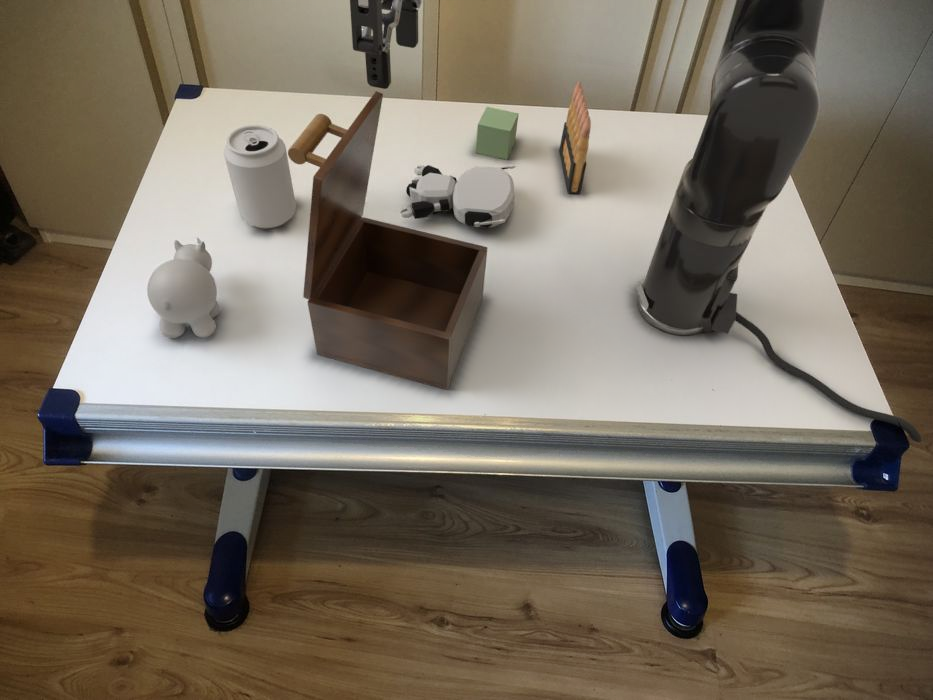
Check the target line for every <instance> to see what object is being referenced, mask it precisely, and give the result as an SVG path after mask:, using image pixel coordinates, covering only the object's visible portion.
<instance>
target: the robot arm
mask: <svg viewBox="0 0 933 700" xmlns="http://www.w3.org/2000/svg"><path fill="white" fill-rule="evenodd" d="M826 1H827V0H735V2H734V6H733V9H732V13H731V17H730V21H729V24H728V28H727V31H726V35H725V38H724V41H723V44H722V47H721V50H720V53H719V57H718V60H717V63H716V66H715V70H714V72H713V76H712V80H711V88H710V98H709V99H710V102H709V111H708V114H707V117H706V121H705V122H704V126H703V129H702V132H701V134H700V137H699V140H698V142H697V145H696V148H695V150H694V153H693V155H692V158H691V159H690V160H689V161H687V163H686V165H685V166H684V168H683V171H682V173H681V177H680V179H679V182H678V185H677V188H676V191H675V193H674V196H673V198H672V202H671V204H670V207H669V210H668V212H667V216H666V217H665V221H664V223H663V227H662V229H661V232H660V235H659V238H658V241H657V244H656V246H655V249H654V251H653V255H652V257H651V260H650V263H649V266H648V269H647V271H646V275H645V277H644V279H643V282H642V283H641V282H640V281H639V283H638V285H637V288H636V290H637V307H638V310H639V312H640V313H641V315H642V316H643V318H644V319H645V320H646V321H647V322H648V323H649V324H651V325H652V326H653V327H655V328H656V329H658V330H661V331H663V332H666V333H669V334H673V335H678V336H690V335H695V334H698V333H701V332H702V333H707V334H710V333H711V332H712V331H714V332H719V333H724V334H727V335H728V334H729V333H730V331H731V328H732V327H733V325H734V323H735V322H736V323H737V324H740V325H741V326H742V327H743V328H745V329H747V330H748V331H749V332H750V333H751V334H753V335H754V336H755V337H756V338H757V339H758V341H759V342H760V344H761V346H762V348H763V350H764V352H765V354H766V356H767V358H769V359H770V360H771V361H772V362H773V363H774V364H775V365H776V366H778V367H779V368H781V369H782V370H784V371H786V372H787V373H790V374H791V375H792V376H794V377H795V376H796V377H797V378H798V379H801V380H803V381H804V382H806V383H807V384H809V385H810V386H812V387H814V388H815V389H816V390H818V392H821V393H822V394H823V395H825V396H826V397H827V398H829V399H830V400H831V401H832V402H834V403H836V404H837V405H839V406H841V407H842V408H844V409H845V410H847V411H849V412H852V413H853V414H856V415H858V416H861V417H865V418H868V419H872V420H876V421H879V422H885V423H888V424H891V425H895V426H896V427H899V428H900V429H902V430H904V431H905V432H906V433H907V434H908V436H909V437H910V439H911V440H912V441H914V442H915V443H921V442H922V437H921V434H920V433H919V431H918V430H917V429H916V426H914V424H912V423H910V422H909V421H907V420H905V419H903V418H901V417H898V416H895V415H892V414H888V413H885V412H880V411H876V410H873V409H868V408H865V407H862V406H860V405H858V404H855V403H853V402H851V401H850V400H848V399H846V398H844V397H843V396H841V395H840V394H838V393H837V392H836V391H834V390H833V389H832V388H830V387H829V386H827V385H826V384H825V383H823V382H822V381H820V380H819V379H818V378H816V377H815V376H813V375H812V374H810V373H808V372H806V371H804V370H802V369H801V368H798V367H796V366H794V365H793V364H790V363H789V362H787V361H786V360H784V359H782V358H781V357H780V356H779V355H778V354H777V353H776V351H774V348H773V346H772V344H771V342H770V340H769V338H768V337H767V335H766V334H765V333H764V332H763V330H761V329H760V328H759V327H758V326H756V325H755V324H754V323H753V322H751V321H750V320H749V319H747V318H746V317H744V316H743V315H741V314H740V313H738V311H737V304H738V293H734V292H732V290H733V288H734V286H735V284H736V282H737V280H738V276H739V264H740V262H741V260H742V258H743V256H744V254H745V252H746V249H748V246H749V243H750V242H751V240H752V237H753V235H754V234H755V231H756V229H757V227H758V225H759V223H760V222H761V220H762V218H763V215H764V213H765V212H766V209H767V207H768V206H769V205H770V204H771V203H772V202H773V201H775V199H777V198H778V197H779V195H780V194H781V192H782V190H783V188H784V187H785V185H786V184H787V182H788V180H789V179H790V176H791V175H792V173H793V172H794V169H795V167H796V165H797V163H798V162H799V160H800V159H801V156H802V154H803V152H804V151H805V148H806V147H807V145H808V143H809V142H810V139H811V137H812V134H813V132H814V129H815V128H816V125H817V122H818V119H819V114H820V107H821V101H820V92H819V85H818V84H819V83H818V77H817V48H818V42H819V35H820V31H821V25H822V19H823V14H824V9H825V5H826ZM422 2H423V0H349V9H350V25H351V27H350V28H351V40H352V41H351V43H352V50H353V51H355V52H360V53H364V56H365V70H366V71H365V72H366V82H367V84H368V85H369V86H370V87H373V88H376V89H377V88H378V89H384V90H386V89H389V87H390V85H391V84H392V69H391V68H392V67H391V49H390V48H391V41H392V36H393V29H394V28H395V41H396V44H397V45H398V46H400V47H406V48H411V49H414V48H416V47H417V46H418V44H419V9H420V8H421V5H422ZM383 10H384V11H389V12H387V13H384V12H383ZM894 418H895V419H894ZM897 420H898V421H897ZM898 422H899V423H900V425H901V427H900V425H899V423H898Z"/></svg>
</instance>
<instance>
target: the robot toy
mask: <svg viewBox="0 0 933 700" xmlns="http://www.w3.org/2000/svg"><path fill="white" fill-rule="evenodd" d="M516 167H517V165H514V164H510V165H506V166H500V167H490V166H477V165H475V166H473V167H471V168H469V169H467V170H466V171H464V172H463V173H462V174H460V176H459V177H458V178H456V177H455V176H453V175H447V174H443V173H442V171H441V170H440V169H439V168H437V167H435V166H433V165H430V164H428V165H424V164H419V165H417V166H416V167H415V168H414V170H413V173H414V174H416V177H414V178H413V179H411V183H409V184H408V185H407V187H406V190H405V192H406V195H407V196H408V197H409V198H410V202H411V207H410V206H404V207H402V208H400V210H399V211H400V215H401V217H402V218H404V219H409V218H411V217H413V218H414V220H417V219H423V218H427V217H429V216H430V215H431V214H432V213H435V212H436V213H437V212H442V213H443V212H447V211H450V210H451V209H453V214H454V217H455V219H456V220H457V221H458V222H460V223H461V224H463V225H464V226H467V227H474V228H486V229H487V228H494V227H497V226H499V225H500V224H505V222H506V221H507V219H508V218H509V216H510V214H511V213H512V210H513V207H514V206H515V184H514V180H513V177H512V176H511V175H510V174H509V172H507V171H506V170H509V169H510V170H512V169H515V168H516Z"/></svg>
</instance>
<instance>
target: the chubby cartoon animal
mask: <svg viewBox="0 0 933 700" xmlns="http://www.w3.org/2000/svg"><path fill="white" fill-rule="evenodd" d="M173 244H174V250H175V253H174V255H173V258H172V259H171V260H168V261H165V262H164V263H162V264H160V265H159V266H157V267H156V268H155V269H154V270H153V272H152V274H150V277H149V279H148V281H147V287H146V292H147V293H146V294H147V298H148V302H149V304H150V305H151V307H152V309H153V311H154V312H156V313H157V314H158V315H159V317H160V318H159V331H160V332H161V334H162V336H164V337H165V338H167V339H176V338H179V337H181V336H182V335H184V333H185V331H186V326H185V324H188V325H189V326H190V328H191V330H192V332H193V334H194V335H195V336H197V337H198V338H203V339H204V338H208V337H210V336H211V335H212V334H214V333H215V331H216V329H217V327H216V325H217V324H216V322H215V320H214V318H216V317H217V316H218V315H219V314H220V309H221V308H220V305H219V303H218V301H217V298H218V297H217V296H218V289H217V284H216V280H215V278H214V277H213V274H212V273H211V270H212V267H213V259H212V256H211V254H210V253H209V252H208V250H207V248H206V244H205V241H201V239H200V238H199V237H196V243H195V244H194V243H188V244H182V243H181V242H180V241H179V240H177V239H175V240H174V243H173Z"/></svg>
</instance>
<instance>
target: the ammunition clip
mask: <svg viewBox="0 0 933 700" xmlns="http://www.w3.org/2000/svg"><path fill="white" fill-rule="evenodd" d="M568 107H569V108H568V109H567V116H566V121H565V122H564V124H563V129H562V132H561V133H562V134H561V138H560V145H559V149H558V152H559V157H560V162H561V169H562V172H563V173H562V174H563V178H564V183H565V187H566V192H567V194H581V190H582V187H583V182H584V179H585V178H584V177H585V173H586V168H587V160H586V159H587V155H588V151H589V145H590V142H589V141H590V133H591V129H592V128H591V127H592V126H591V125H592V123H591V117H590V114H589V109H588V105H587V101H586V97H585V95H584V90H583V86H582V82H581V81H580V80H579V81H578V82H577V84H576V85H575V87H574V90H573V93H572V97H571V101H570V105H569V106H568Z"/></svg>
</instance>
